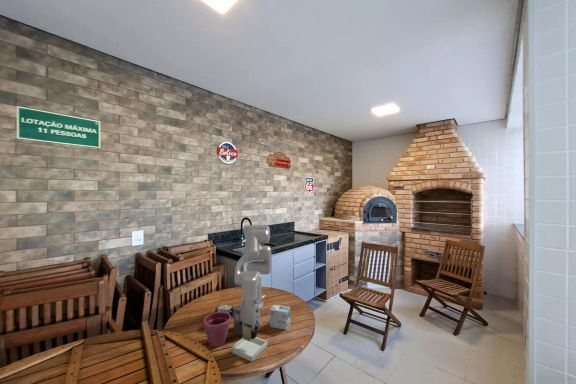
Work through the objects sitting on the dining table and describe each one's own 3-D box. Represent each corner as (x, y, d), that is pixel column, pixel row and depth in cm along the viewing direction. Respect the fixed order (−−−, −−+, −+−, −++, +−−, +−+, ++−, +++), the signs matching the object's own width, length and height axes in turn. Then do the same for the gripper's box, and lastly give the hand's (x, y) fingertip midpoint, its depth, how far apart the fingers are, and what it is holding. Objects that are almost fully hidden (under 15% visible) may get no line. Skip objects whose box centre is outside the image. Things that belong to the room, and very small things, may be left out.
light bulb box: (290, 324, 148) (290, 306, 148) (286, 330, 142) (286, 312, 142) (274, 321, 152) (274, 304, 152) (269, 327, 145) (269, 309, 145)
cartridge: (249, 333, 129) (249, 318, 129) (256, 336, 126) (256, 321, 126) (242, 338, 124) (242, 323, 124) (250, 342, 122) (250, 326, 122)
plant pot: (215, 331, 141) (215, 309, 141) (236, 337, 136) (236, 314, 135) (197, 346, 128) (197, 321, 127) (219, 353, 122) (219, 327, 122)
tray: (248, 338, 135) (248, 333, 135) (267, 346, 128) (267, 341, 128) (230, 352, 123) (230, 347, 123) (251, 361, 116) (251, 356, 116)
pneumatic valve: (232, 328, 144) (232, 308, 144) (214, 326, 146) (214, 306, 146) (236, 323, 149) (236, 303, 149) (218, 321, 152) (218, 302, 151)
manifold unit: (244, 323, 149) (244, 300, 148) (257, 328, 144) (257, 304, 143) (233, 331, 141) (233, 306, 140) (246, 336, 136) (246, 310, 135)
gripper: (267, 302, 124) (267, 337, 124) (241, 294, 133) (241, 327, 133) (258, 308, 117) (258, 345, 118) (232, 300, 126) (232, 334, 126)
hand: (249, 335), depth 125 cm, fingers closed on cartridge, 5 cm apart
